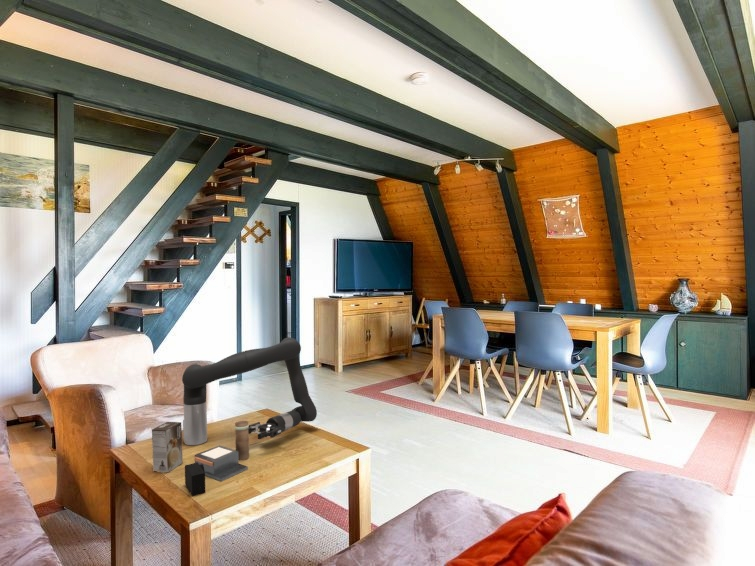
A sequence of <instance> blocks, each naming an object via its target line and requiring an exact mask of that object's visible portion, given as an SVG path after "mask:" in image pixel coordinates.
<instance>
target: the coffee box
mask: <svg viewBox="0 0 755 566" xmlns="http://www.w3.org/2000/svg"><path fill="white" fill-rule="evenodd" d="M151 440H152V441H151V443H152V444H151V445H152V467H153V468H152V469H153V472H154V471H160V472H159V473H164V472H168V473H170V472H171V471H172V470H174V469H176V468H177V467H178V466H180V465H181V464H183V462H184V461H183V429H182V422H178V421H166V422H164V423H162V424H160V425H158V426H156V427H154V428H152V429H151ZM169 471H170V472H169Z"/></svg>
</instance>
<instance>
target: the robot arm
mask: <svg viewBox="0 0 755 566" xmlns="http://www.w3.org/2000/svg"><path fill="white" fill-rule="evenodd" d="M301 351H302V346H301V344H300V342H299V341H298V340H297V339H295V338H294V337H289V336H288V337H285V338H283V339H282V340H281V341H280V342H279V343H277V344H273V345H271V346H267V347H262V348H254V349H248V350H244V351H243V350H242V351H240V352H237V353H234V354H231V355H229V356H226V357H224V358H222V359H221V360H218V361H217V362H214V363H211V364H207V365H200V364H197V363H196V364H195V363H193V364H190V365H189V366H187V367H186V368H185V370H184V372H183V375H182V377H181V380H182V384H183V399H182V400H183V420H182V443H184V444H185V445H187V446H198V445H202V444H205V443H206V442H207V441H208V418H207V417H208V416H207V415H208V414H207V413H208V410H207V409H208V408H207V385H208V384H210V383H213V382H215V381H218V380H221V379H226V378H230V377H234V376H238V375H241V374H244V373H248V372H250V371H254V370H256V369H259V368H260V369H261V368H263V367H265V366H268V365H270V364H275V363H277V362H282V361H284V363H285V366H286V369H287V372H288V373H287V374H288V378H289V383H290V388H291V392H292V395H293V399H294V402H295V403H297V404H299V406H297V407H295V408H293V409H291V410H290V411H287V412H283V413H280V414H277V415H275V416H272V417H269V418H268V419H267V420H266V422H263V423H261V422H260V421H258V422H255V423H252V424H249V428H248V433H249V435H251V434H253V433H255V434H257V440H262V439H265V438H269V437H270V438H271V439H272V438H274V437H277V436H279V435H281V434H282V433H284V432H286V431H288V430H290V429H292V428H294V427H297V426H298V425H299V424H300V423H301V422H303V423H305V422H309V423H310V422H314V421H315V420H316V418H317V416H318V414H317V413H318V412H317V407H316V405H315V404H314V401H313V400H312V398H311V396H310V392H309V389H308V385H307V382H306V378H305V376H304V372H303V369H302V366H301V362H300V357H299V356H300V354H301Z"/></svg>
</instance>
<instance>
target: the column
mask: <svg viewBox="0 0 755 566" xmlns="http://www.w3.org/2000/svg"><path fill="white" fill-rule="evenodd" d="M249 425H250V424H249V421H248V420H239V421H236V422H235V423H234V430H235V431H234V432H235V433H234V434H235V435H234V436H235V442H234V443H235V450H236V451H238V458H239V461H245V460H248V459H249V458H250V447H249V445H250V443H249V441H250V440H249V437H250V434H249V433H248V428H249Z"/></svg>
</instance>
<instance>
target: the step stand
mask: <svg viewBox="0 0 755 566" xmlns="http://www.w3.org/2000/svg"><path fill="white" fill-rule="evenodd" d="M193 461H194V463H198V464H199V465H200V464H203V466H204V471H205V477H208V478H211V479H213V480H216V481H219V482H223V481H225V480H227V479H230V478H232V477H234V476H236V475H238V474H240V473H242V472H245V471H247V470H248V468H249V467H248V466H247V465H245V464H241V463H240V462H239V461H240V460H239V458H238V451H236V449H232V448H229V447H226V446H223V445H220V444H219V445H217V446H214V447H212V448H209V449H207V450H204V451H201V452H199V453H196V454H194V460H193Z"/></svg>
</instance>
